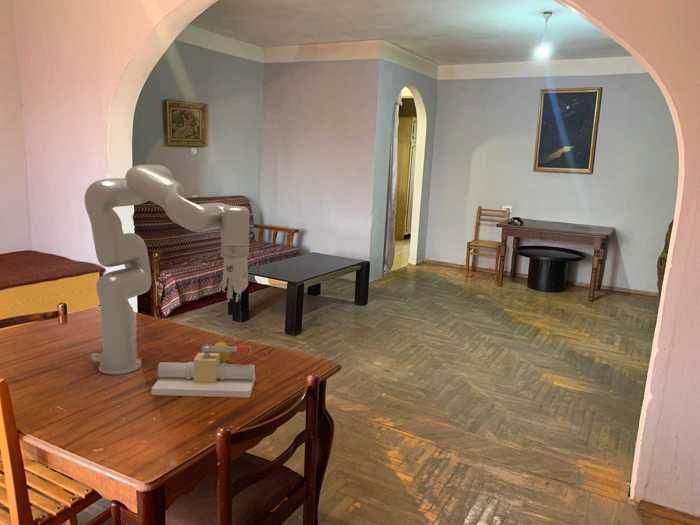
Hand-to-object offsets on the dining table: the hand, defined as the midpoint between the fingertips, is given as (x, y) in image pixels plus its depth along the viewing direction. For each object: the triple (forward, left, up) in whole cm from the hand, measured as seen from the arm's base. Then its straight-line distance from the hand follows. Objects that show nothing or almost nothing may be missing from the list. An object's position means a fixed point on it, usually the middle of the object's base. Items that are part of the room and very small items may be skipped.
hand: (234, 314), depth 152 cm
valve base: (-9, +4, -25) cm, 27 cm away
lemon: (-8, +22, -25) cm, 34 cm away
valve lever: (-3, +7, -14) cm, 16 cm away
